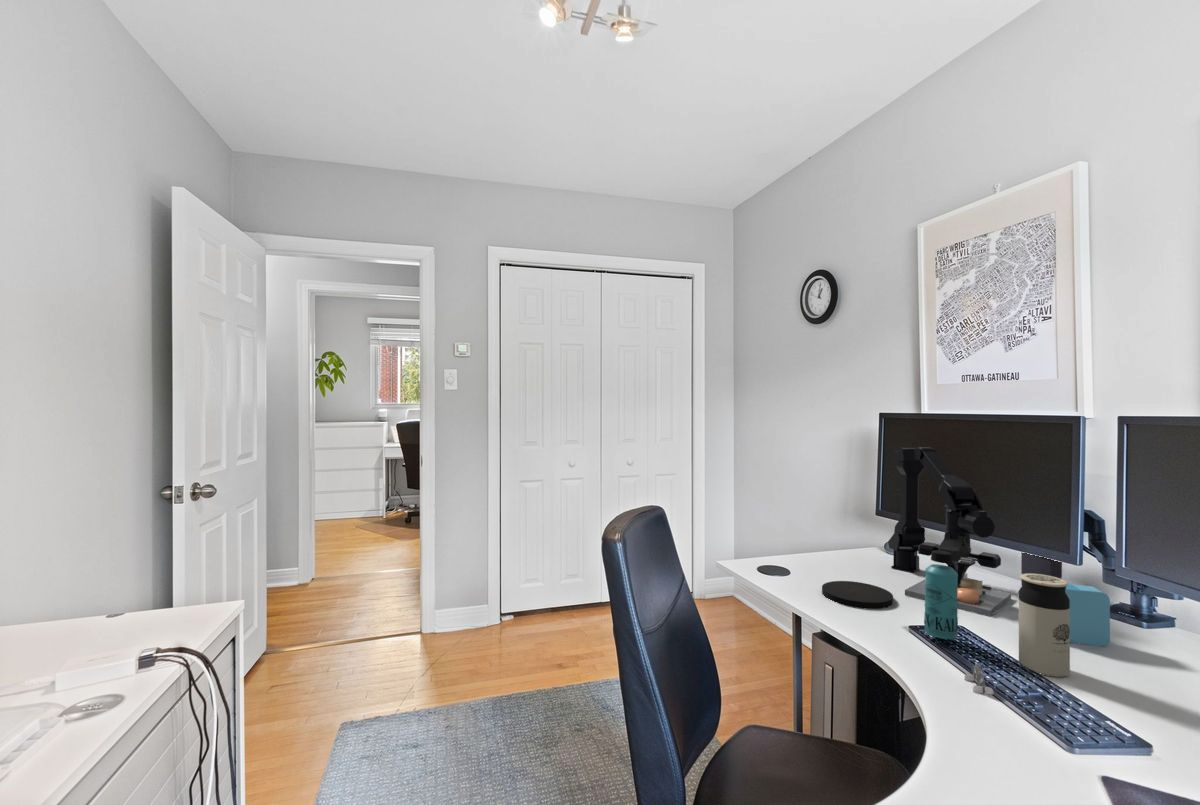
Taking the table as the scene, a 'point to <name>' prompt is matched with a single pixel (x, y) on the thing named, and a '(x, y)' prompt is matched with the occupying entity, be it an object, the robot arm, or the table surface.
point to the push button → (967, 596)
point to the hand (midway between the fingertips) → (957, 585)
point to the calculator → (1040, 566)
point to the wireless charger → (857, 594)
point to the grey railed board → (987, 604)
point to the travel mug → (1044, 625)
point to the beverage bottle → (941, 597)
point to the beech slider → (972, 584)
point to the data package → (1089, 615)
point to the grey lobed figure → (978, 681)
